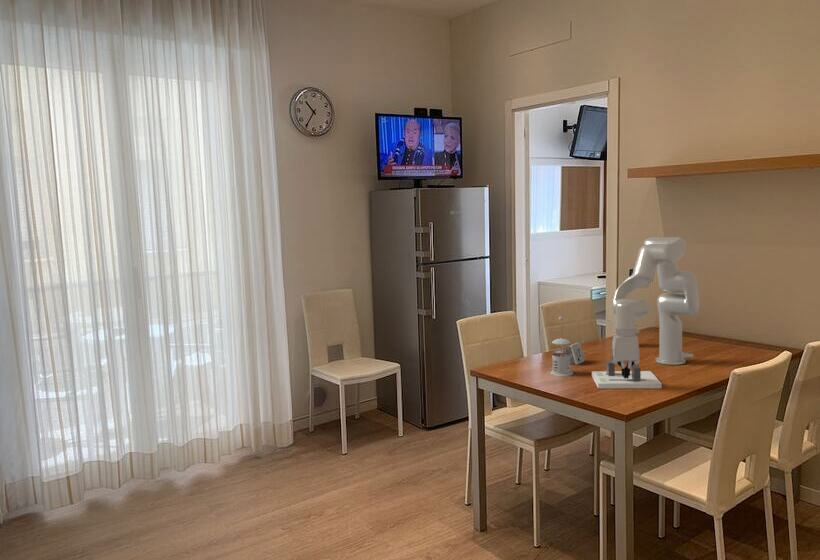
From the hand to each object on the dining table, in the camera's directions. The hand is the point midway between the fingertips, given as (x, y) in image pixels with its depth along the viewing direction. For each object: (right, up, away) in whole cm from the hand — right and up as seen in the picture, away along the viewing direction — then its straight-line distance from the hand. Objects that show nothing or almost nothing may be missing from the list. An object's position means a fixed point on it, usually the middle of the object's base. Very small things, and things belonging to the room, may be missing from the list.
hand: (625, 377), depth 256 cm
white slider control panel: (+1, -3, +5) cm, 5 cm away
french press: (-20, -2, +23) cm, 31 cm away
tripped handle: (+4, -1, -1) cm, 4 cm away
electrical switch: (-10, +1, +40) cm, 41 cm away
